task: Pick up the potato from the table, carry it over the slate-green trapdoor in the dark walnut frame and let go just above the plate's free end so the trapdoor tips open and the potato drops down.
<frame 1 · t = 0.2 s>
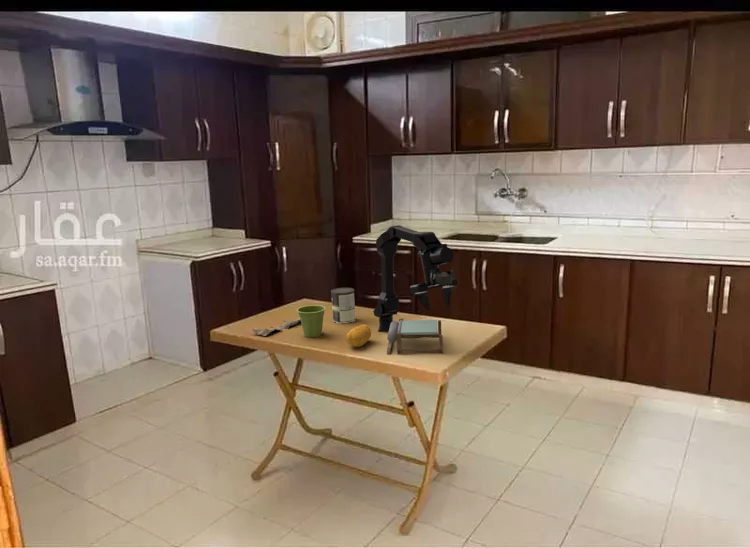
hand: (438, 309, 198), 15 cm above the table, tool pointing down, fingers open, 9 cm apart
trapdoor frame: (415, 344, 207), on the table
plant pot: (313, 335, 226), on the table
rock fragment: (286, 326, 242), on the table
potato: (359, 345, 210), on the table
coffee can: (344, 321, 246), on the table
trapdoor: (413, 330, 206), point 6 cm above the table, hinge at 0.0°
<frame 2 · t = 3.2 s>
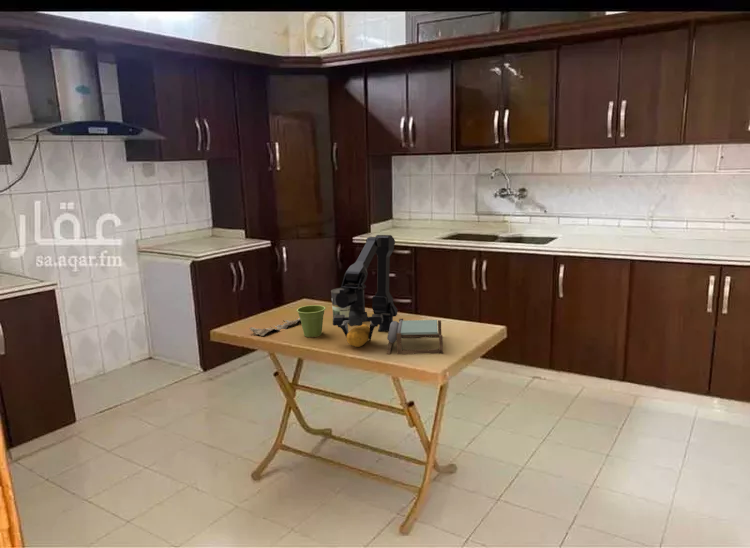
hand: (359, 341, 210), 2 cm above the table, tool pointing down, fingers closed on potato, 8 cm apart
potato: (359, 345, 210), on the table, touching gripper
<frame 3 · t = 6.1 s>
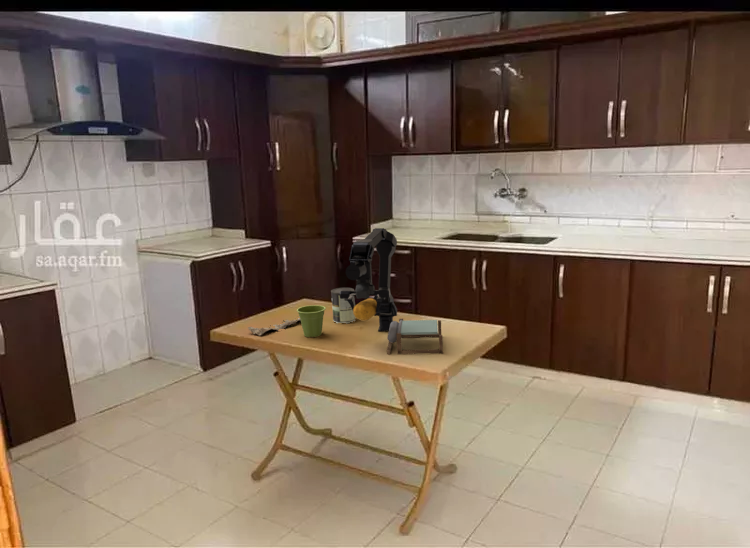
hand: (366, 315, 208), 12 cm above the table, tool pointing down, fingers closed on potato, 8 cm apart
potato: (366, 319, 208), point 10 cm above the table, touching gripper
when the fingers open (11 cm above the table, at t = 9.1 s): potato drops 7 cm, point 2 cm above the table.
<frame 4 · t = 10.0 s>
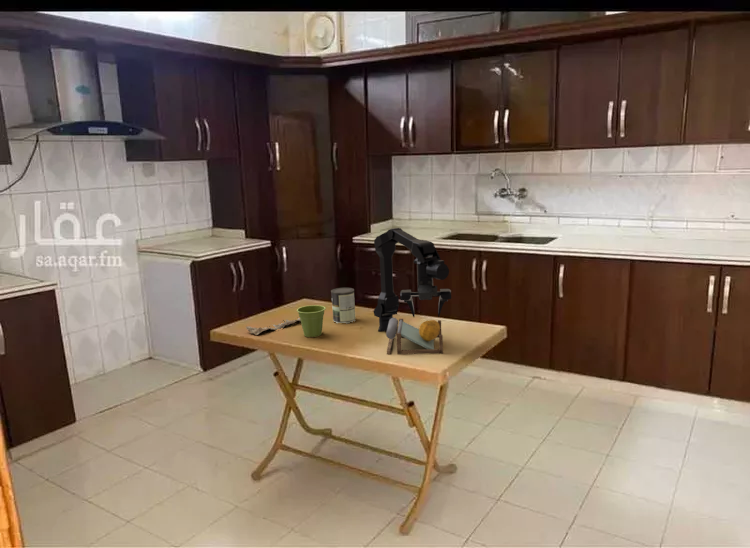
hand: (426, 316, 205), 11 cm above the table, tool pointing down, fingers open, 9 cm apart
potato: (424, 338, 206), point 2 cm above the table
trapdoor: (410, 336, 207), point 4 cm above the table, hinge at -28.4°
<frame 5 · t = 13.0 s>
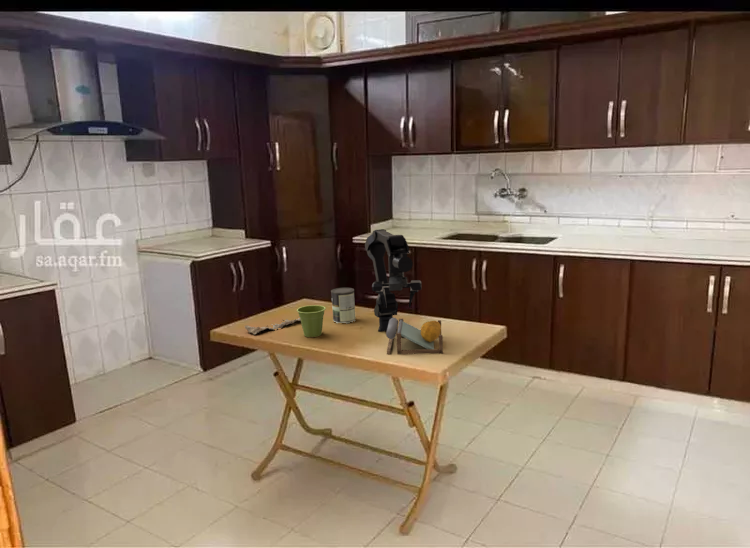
hand: (397, 307, 212), 13 cm above the table, tool pointing down, fingers open, 9 cm apart
potato: (426, 339, 206), point 2 cm above the table, touching trapdoor
trapdoor: (410, 336, 207), point 4 cm above the table, hinge at -28.5°, touching potato
at the end: potato point 2.0 cm above the table; potato inside the target area (7.5 cm from its centre), point 2.0 cm above the table; the gripper is holding nothing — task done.
